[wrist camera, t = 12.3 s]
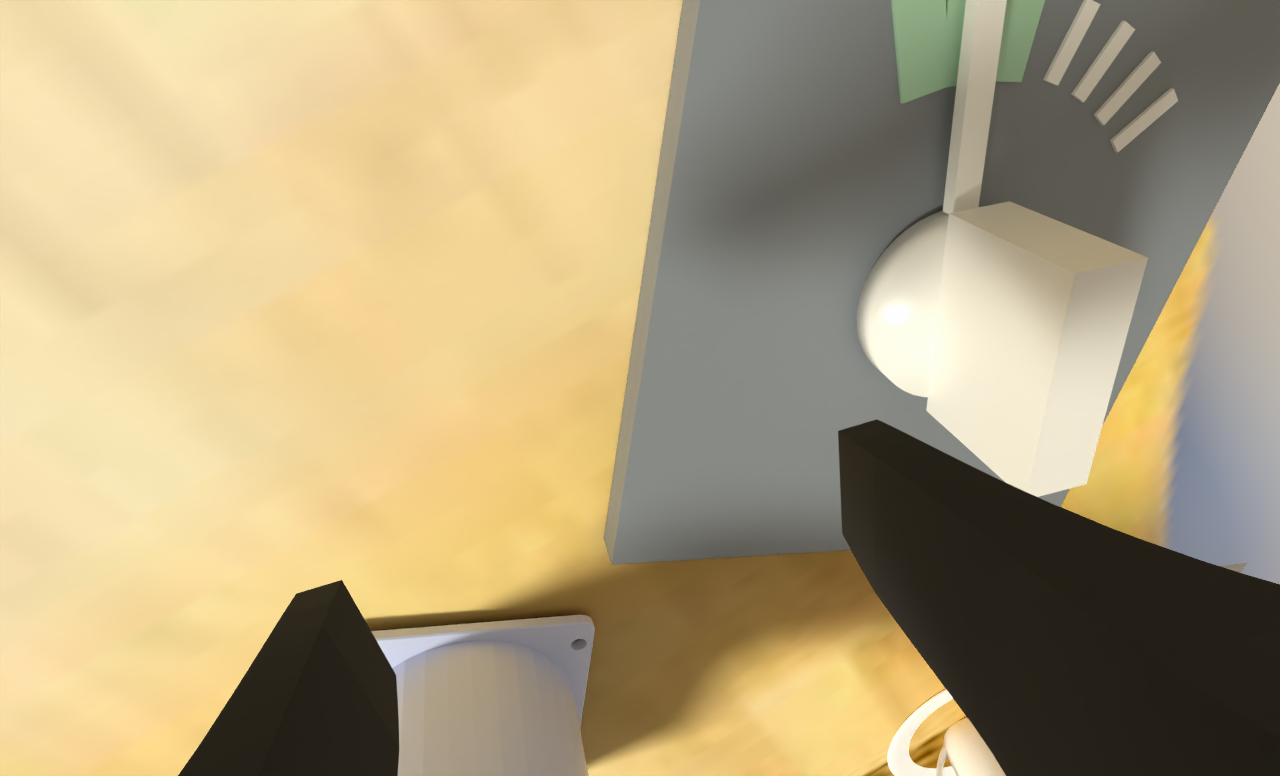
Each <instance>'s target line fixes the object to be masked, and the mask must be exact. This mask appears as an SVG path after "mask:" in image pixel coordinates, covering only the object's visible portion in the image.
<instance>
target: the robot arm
mask: <svg viewBox="0 0 1280 776" xmlns="http://www.w3.org/2000/svg"><path fill="white" fill-rule="evenodd" d="M838 442H839V467H840V492H841V518H842V534H843V536H844V538H845V540H846V542H847V543H848V545H849V547H850V549H851V551H852V553H853V554H854V556H855V558H856V560H857V562H858V564H859V565H860V567H861V569H862V571H863V572H864V574H865V576H866V577H867V579H868V581H869V583H870V584H871V586H872V588H873V590H874V591H875V593H876V594H877V596H878V597H879V598H880V600H881V601H882V603H883V604H884V605H885V607H886V608H887V609H888V611H889V612H890V614H891V615H892V616H893V618H894V619H895V620H896V622H897V623H898V624H899V626H900V627H901V629H902V630H903V631H904V633H905V634H906V635H907V637H908V638H909V639H910V641H911V642H912V644H913V645H914V646H915V648H916V649H917V650H918V652H919V653H920V654H921V656H922V657H923V658H924V660H925V661H926V662H927V664H928V665H929V666H930V668H931V669H932V670H933V672H934V673H935V674H936V676H937V677H938V679H939V680H940V681H941V683H942V684H943V685H944V687H945V688H946V689H947V691H948V692H949V693H950V695H951V696H952V697H953V699H954V700H955V701H956V703H957V704H958V705H959V707H960V708H961V709H962V711H963V712H964V714H965V715H966V716H967V718H968V719H969V720H970V722H971V723H972V724H973V726H974V727H975V729H976V730H977V732H978V733H979V735H980V736H981V738H982V739H983V741H984V742H985V743H986V745H987V746H988V748H989V749H990V751H991V752H992V754H993V755H994V757H995V759H996V760H997V762H998V763H999V765H1000V767H1001V768H1002V770H1003V772H1004V773H1005V775H1006V776H1280V585H1279V584H1276V583H1273V582H1269V581H1266V580H1262V579H1259V578H1255V577H1251V576H1248V575H1245V574H1242V573H1238V572H1235V571H1232V570H1229V569H1226V568H1223V567H1219V566H1216V565H1213V564H1210V563H1207V562H1204V561H1201V560H1198V559H1195V558H1192V557H1189V556H1186V555H1184V554H1181V553H1178V552H1175V551H1172V550H1169V549H1167V548H1164V547H1161V546H1158V545H1155V544H1152V543H1149V542H1147V541H1144V540H1141V539H1138V538H1135V537H1133V536H1130V535H1128V534H1125V533H1122V532H1120V531H1117V530H1114V529H1112V528H1109V527H1107V526H1104V525H1102V524H1099V523H1097V522H1095V521H1092V520H1090V519H1087V518H1085V517H1083V516H1080V515H1078V514H1076V513H1073V512H1071V511H1068V510H1066V509H1064V508H1061V507H1059V506H1056V505H1054V504H1052V503H1049V502H1047V501H1045V500H1043V499H1041V498H1038V497H1036V496H1034V495H1032V494H1029V493H1027V492H1025V491H1023V490H1021V489H1018V488H1016V487H1014V486H1012V485H1010V484H1008V483H1006V482H1003V481H1001V480H999V479H997V478H995V477H993V476H991V475H989V474H987V473H985V472H983V471H981V470H978V469H976V468H974V467H972V466H970V465H968V464H966V463H964V462H962V461H960V460H958V459H956V458H954V457H952V456H950V455H948V454H946V453H944V452H942V451H940V450H938V449H936V448H934V447H932V446H930V445H928V444H926V443H924V442H922V441H920V440H918V439H916V438H914V437H912V436H911V435H909V434H907V433H905V432H902V431H900V430H898V429H896V428H894V427H892V426H890V425H888V424H886V423H884V422H882V421H880V420H877V419H876V420H873V421H869V422H866V423H863V424H859V425H856V426H853V427H849V428H846V429H843V430H839V431H838ZM594 634H595V628H594V623H593V620H592V619H591V618H590V617H589V616H587V615H569V616H557V617H544V618H532V619H519V620H506V621H494V622H481V623H469V624H456V625H443V626H431V627H418V628H406V629H393V630H380V631H371V630H370V628H369V627H368V625H367V623H366V621H365V620H364V618H363V616H362V614H361V613H360V611H359V609H358V608H357V606H356V604H355V602H354V601H353V599H352V597H351V595H350V594H349V592H348V590H347V588H346V587H345V585H344V583H343V581H342V580H341V581H337V582H334V583H331V584H327V585H324V586H321V587H317V588H314V589H311V590H307V591H304V592H301V593H297V594H296V595H295V597H294V598H293V600H292V601H291V603H290V604H289V606H288V607H287V609H286V610H285V612H284V613H283V615H282V617H281V618H280V620H279V621H278V623H277V625H276V626H275V628H274V629H273V631H272V633H271V634H270V636H269V637H268V639H267V641H266V642H265V644H264V645H263V647H262V649H261V650H260V652H259V653H258V655H257V657H256V658H255V660H254V661H253V663H252V665H251V666H250V668H249V669H248V671H247V672H246V674H245V676H244V677H243V679H242V680H241V682H240V684H239V685H238V687H237V688H236V690H235V691H234V693H233V694H232V696H231V698H230V699H229V701H228V702H227V704H226V705H225V707H224V708H223V710H222V711H221V713H220V715H219V716H218V718H217V719H216V721H215V722H214V724H213V725H212V727H211V728H210V730H209V732H208V733H207V735H206V736H205V738H204V739H203V741H202V742H201V744H200V745H199V747H198V748H197V750H196V751H195V752H194V754H193V755H192V757H191V758H190V760H189V761H188V762H187V764H186V765H185V767H184V768H183V770H182V771H181V772H180V774H179V775H178V776H589V775H588V769H587V764H586V758H585V753H584V747H583V742H582V737H581V731H580V727H581V720H582V714H583V707H584V700H585V694H586V687H587V681H588V674H589V667H590V661H591V654H592V648H593V641H594ZM577 639H581V640H578V641H575V640H577Z"/></svg>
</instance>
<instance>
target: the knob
mask: <svg viewBox="0 0 1280 776" xmlns="http://www.w3.org/2000/svg"><path fill="white" fill-rule="evenodd" d="M1006 2H1007V0H966V4H965V13H964V22H963V31H962V40H961V50H960V59H959V68H958V77H957V86H956V95H955V104H954V113H953V122H952V131H951V140H950V149H949V158H948V167H947V176H946V185H945V194H944V203H943V211H940V212H938V213H935V214H933V215H930V216H928V217H926V218H924V219H923V220H921V221H919V222H917V223H916V224H914V225H913V226H911V227H910V228H908V229H907V230H906V231H904V232H903V233H902V234H901V235H900V236H899V237H897V238H896V239H895V240H894V241H893V242H892V243H891V244H890V245H889V247H888V248H887V249H886V250H885V251H884V252H883V254H882V255H881V256H880V258H879V259H878V260H877V262H876V263H875V265H874V267H873V268H872V270H871V271H870V273H869V275H868V277H867V279H866V281H865V284H864V286H863V289H862V292H861V295H860V299H859V303H858V308H857V317H856V321H857V334H858V339H859V342H860V345H861V348H862V350H863V352H864V354H865V356H866V357H867V358H868V360H869V361H870V362H871V363H872V364H873V365H874V366H875V367H876V368H877V369H878V370H879V371H880V372H882V373H883V374H884V375H885V376H886V377H887V378H888V379H889V380H890V381H891V382H893V383H894V384H895V385H896V386H897V387H899V388H900V389H902V390H903V391H905V392H908V393H910V394H913V395H916V396H921V397H928V400H927V409H926V411H927V412H928V413H929V414H931V415H932V416H933V417H934V418H935V419H936V420H937V421H938V422H939V423H940V424H942V425H943V426H944V427H945V428H946V429H947V430H948V431H949V432H950V433H951V434H953V435H954V436H955V437H956V438H957V439H958V440H959V441H960V442H961V443H963V444H964V445H965V446H966V447H967V448H968V449H969V450H970V451H971V452H972V453H974V454H975V455H976V456H977V457H978V458H979V459H980V460H981V461H982V462H983V463H985V464H986V465H987V466H988V467H989V468H990V469H991V470H992V471H993V472H995V473H996V474H997V475H998V476H999V477H1000V478H1001V479H1002V480H1003V481H1004V482H1006V483H1008V484H1010V485H1012V486H1014V487H1016V488H1018V489H1021V490H1023V491H1025V492H1027V493H1029V494H1032V495H1034V496H1036V497H1040V496H1043V495H1047V494H1051V493H1055V492H1058V491H1062V490H1066V489H1070V488H1073V487H1077V486H1081V485H1085V484H1087V480H1088V477H1089V473H1090V469H1091V466H1092V462H1093V458H1094V455H1095V451H1096V447H1097V444H1098V440H1099V436H1100V433H1101V429H1102V425H1103V422H1104V418H1105V414H1106V411H1107V407H1108V403H1109V400H1110V396H1111V392H1112V389H1113V385H1114V381H1115V378H1116V374H1117V370H1118V367H1119V363H1120V359H1121V356H1122V352H1123V348H1124V345H1125V341H1126V337H1127V334H1128V330H1129V326H1130V323H1131V319H1132V315H1133V312H1134V308H1135V304H1136V301H1137V297H1138V293H1139V290H1140V286H1141V282H1142V279H1143V275H1144V271H1145V268H1146V264H1147V260H1148V257H1146V256H1143V255H1141V254H1138V253H1136V252H1133V251H1131V250H1129V249H1126V248H1124V247H1121V246H1119V245H1116V244H1114V243H1111V242H1109V241H1106V240H1104V239H1101V238H1099V237H1097V236H1094V235H1092V234H1089V233H1087V232H1084V231H1082V230H1079V229H1077V228H1074V227H1072V226H1069V225H1067V224H1064V223H1062V222H1060V221H1057V220H1055V219H1052V218H1050V217H1047V216H1045V215H1042V214H1040V213H1037V212H1035V211H1032V210H1030V209H1027V208H1025V207H1023V206H1020V205H1018V204H1015V203H1013V202H1010V201H1009V202H1004V203H999V204H994V205H989V206H984V207H979V200H980V192H981V185H982V178H983V170H984V163H985V156H986V148H987V141H988V134H989V127H990V119H991V112H992V105H993V97H994V90H995V83H996V75H997V68H998V61H999V53H1000V46H1001V39H1002V31H1003V24H1004V17H1005V9H1006Z"/></svg>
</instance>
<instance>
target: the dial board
mask: <svg viewBox="0 0 1280 776" xmlns="http://www.w3.org/2000/svg"><path fill="white" fill-rule="evenodd" d="M965 4H966V0H683V4H682V11H681V17H680V24H679V31H678V38H677V45H676V51H675V58H674V65H673V72H672V79H671V85H670V92H669V99H668V106H667V113H666V119H665V126H664V133H663V140H662V147H661V153H660V160H659V167H658V174H657V181H656V187H655V194H654V201H653V208H652V215H651V221H650V228H649V235H648V242H647V249H646V255H645V262H644V269H643V276H642V283H641V289H640V296H639V303H638V310H637V317H636V323H635V330H634V337H633V344H632V350H631V357H630V364H629V371H628V378H627V384H626V391H625V398H624V405H623V412H622V418H621V425H620V432H619V439H618V446H617V452H616V459H615V466H614V473H613V480H612V486H611V493H610V500H609V507H608V514H607V520H606V527H605V534H604V540H605V544H606V547H607V551H608V554H609V558H610V561H611V565H615V564H631V563H648V562H664V561H680V560H697V559H713V558H729V557H746V556H762V555H779V554H795V553H811V552H828V551H844V550H851V549H850V547H849V545H848V543H847V542H846V540H845V538H844V536H843V534H842V518H841V492H840V467H839V442H838V431H839V430H843V429H846V428H849V427H853V426H856V425H859V424H863V423H866V422H869V421H873V420H876V419H877V420H880V421H882V422H884V423H886V424H888V425H890V426H892V427H894V428H896V429H898V430H900V431H902V432H905V433H907V434H909V435H911V436H912V437H914V438H916V439H918V440H920V441H922V442H924V443H926V444H928V445H930V446H932V447H934V448H936V449H938V450H940V451H942V452H944V453H946V454H948V455H950V456H952V457H954V458H956V459H958V460H960V461H962V462H964V463H966V464H968V465H970V466H972V467H974V468H976V469H978V470H981V471H983V472H985V473H987V474H989V475H991V476H993V477H995V478H997V479H999V480H1001V481H1003V480H1002V479H1001V478H1000V477H999V476H998V475H997V474H996V473H995V472H993V471H992V470H991V469H990V468H989V467H988V466H987V465H986V464H985V463H983V462H982V461H981V460H980V459H979V458H978V457H977V456H976V455H975V454H974V453H972V452H971V451H970V450H969V449H968V448H967V447H966V446H965V445H964V444H963V443H961V442H960V441H959V440H958V439H957V438H956V437H955V436H954V435H953V434H951V433H950V432H949V431H948V430H947V429H946V428H945V427H944V426H943V425H942V424H940V423H939V422H938V421H937V420H936V419H935V418H934V417H933V416H932V415H931V414H929V413H928V412H927V411H926V409H927V400H928V397H921V396H916V395H913V394H910V393H908V392H905V391H903V390H902V389H900V388H899V387H897V386H896V385H895V384H894V383H893V382H891V381H890V380H889V379H888V378H887V377H886V376H885V375H884V374H883V373H882V372H880V371H879V370H878V369H877V368H876V367H875V366H874V365H873V364H872V363H871V362H870V361H869V360H868V358H867V357H866V356H865V354H864V352H863V350H862V348H861V345H860V342H859V339H858V334H857V321H856V317H857V308H858V303H859V299H860V295H861V292H862V289H863V286H864V284H865V281H866V279H867V277H868V275H869V273H870V271H871V270H872V268H873V267H874V265H875V263H876V262H877V260H878V259H879V258H880V256H881V255H882V254H883V252H884V251H885V250H886V249H887V248H888V247H889V245H890V244H891V243H892V242H893V241H894V240H895V239H896V238H897V237H899V236H900V235H901V234H902V233H903V232H904V231H906V230H907V229H908V228H910V227H911V226H913V225H914V224H916V223H917V222H919V221H921V220H923V219H924V218H926V217H928V216H930V215H933V214H935V213H938V212H940V211H943V203H944V194H945V185H946V176H947V167H948V158H949V149H950V140H951V131H952V122H953V113H954V104H955V95H956V86H957V77H958V68H959V59H960V50H961V40H962V31H963V22H964V13H965ZM1279 83H1280V0H1007V2H1006V9H1005V17H1004V24H1003V31H1002V39H1001V46H1000V53H999V61H998V68H997V75H996V83H995V90H994V97H993V105H992V112H991V119H990V127H989V134H988V141H987V148H986V156H985V163H984V170H983V178H982V185H981V192H980V200H979V207H984V206H989V205H994V204H999V203H1004V202H1009V201H1010V202H1013V203H1015V204H1018V205H1020V206H1023V207H1025V208H1027V209H1030V210H1032V211H1035V212H1037V213H1040V214H1042V215H1045V216H1047V217H1050V218H1052V219H1055V220H1057V221H1060V222H1062V223H1064V224H1067V225H1069V226H1072V227H1074V228H1077V229H1079V230H1082V231H1084V232H1087V233H1089V234H1092V235H1094V236H1097V237H1099V238H1101V239H1104V240H1106V241H1109V242H1111V243H1114V244H1116V245H1119V246H1121V247H1124V248H1126V249H1129V250H1131V251H1133V252H1136V253H1138V254H1141V255H1143V256H1146V257H1148V260H1147V264H1146V268H1145V271H1144V275H1143V279H1142V282H1141V286H1140V290H1139V293H1138V297H1137V301H1136V304H1135V308H1134V312H1133V315H1132V319H1131V323H1130V326H1129V330H1128V334H1127V337H1126V341H1125V345H1124V348H1123V352H1122V356H1121V359H1120V363H1119V367H1118V370H1117V374H1116V378H1115V381H1114V385H1113V389H1112V392H1111V396H1110V400H1109V403H1108V407H1107V411H1106V414H1105V418H1104V422H1105V420H1106V418H1107V416H1108V414H1109V412H1110V410H1111V408H1112V406H1113V404H1114V402H1115V400H1116V398H1117V396H1118V394H1119V393H1120V391H1121V389H1122V387H1123V385H1124V383H1125V381H1126V379H1127V377H1128V375H1129V373H1130V371H1131V369H1132V367H1133V365H1134V363H1135V362H1136V360H1137V358H1138V356H1139V354H1140V352H1141V350H1142V348H1143V346H1144V344H1145V342H1146V340H1147V338H1148V336H1149V334H1150V332H1151V331H1152V329H1153V327H1154V325H1155V323H1156V321H1157V319H1158V317H1159V315H1160V313H1161V311H1162V309H1163V307H1164V305H1165V303H1166V302H1167V300H1168V298H1169V296H1170V294H1171V292H1172V290H1173V288H1174V286H1175V284H1176V282H1177V280H1178V278H1179V276H1180V274H1181V272H1182V271H1183V269H1184V267H1185V265H1186V263H1187V261H1188V259H1189V257H1190V255H1191V253H1192V251H1193V249H1194V247H1195V245H1196V243H1197V242H1198V240H1199V238H1200V236H1201V234H1202V232H1203V230H1204V228H1205V226H1206V224H1207V222H1208V220H1209V218H1210V216H1211V214H1212V212H1213V211H1214V209H1215V207H1216V205H1217V203H1218V201H1219V199H1220V197H1221V195H1222V193H1223V191H1224V189H1225V187H1226V185H1227V183H1228V181H1229V179H1230V178H1231V175H1232V174H1233V172H1234V170H1235V168H1236V166H1237V164H1238V162H1239V160H1240V158H1241V156H1242V154H1243V152H1244V151H1245V149H1246V147H1247V145H1248V143H1249V141H1250V139H1251V137H1252V135H1253V133H1254V131H1255V129H1256V127H1257V125H1258V123H1259V121H1260V119H1261V118H1262V116H1263V114H1264V112H1265V110H1266V108H1267V106H1268V104H1269V102H1270V100H1271V98H1272V96H1273V94H1274V92H1275V91H1276V88H1277V87H1278V85H1279ZM1104 422H1103V423H1104ZM1003 482H1004V481H1003ZM1068 491H1069V489H1066V490H1062V491H1058V492H1055V493H1051V494H1047V495H1043V496H1040V497H1038V498H1041V499H1043V500H1045V501H1047V502H1049V503H1052V504H1054V505H1056V506H1059V507H1061V505H1062V503H1063V501H1064V499H1065V497H1066V495H1067V493H1068Z"/></svg>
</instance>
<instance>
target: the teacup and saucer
mask: <svg viewBox="0 0 1280 776" xmlns="http://www.w3.org/2000/svg"><path fill="white" fill-rule="evenodd" d="M1246 564H1247V563H1241V564H1233V565H1227V566H1219V567H1223V568H1226V569H1229V570H1232V571H1235V572H1238V573H1241V572H1242V570H1243V569H1244V567H1245V566H1246ZM952 699H953V697H952V696H951V695H950V693H949V692H948V691H947V689H945V690H943V691H941V692H940V693H938V694H936V695H935V696H933V697H932V698H930V699H929V700H928V701H926V702H925V703H924V704H922V705H921V706H920V707H919V708H918V709H916V710H915V711H914V712H913V713H912V714H911V715H910V716H909V717H908V718H907V719H906V720H905V722H904V723H903V724H902V725H901V726H900V728H899V729H898V731H897V732H896V734H895V735H894V737H893V739H892V741H891V744H890V746H889V750H888V756H887V760H888V766H889V768H890V770H891V772H892V773H893V774H894V775H895V776H1006V775H1005V773H1004V772H1003V770H1002V768H1001V767H1000V765H999V763H998V762H997V760H996V759H995V757H994V755H993V754H992V752H991V751H990V749H989V748H988V746H987V745H986V743H985V742H984V741H983V739H982V738H981V736H980V735H979V733H978V732H977V730H976V729H975V727H974V726H973V724H972V723H971V722H970V720H969V719H968V718H967V717H966V718H963V719H961V720H959V721H958V722H956V723H955V724H953V725H952V726H951V727H950V728H949V729H948V730H947V732H946V733H945V735H944V745H943V747H942V749H941V751H940V754H939V758H938V762H937V768H936V769H932V768H924V767H921V766H919V765H917V764H915V763H914V762H913V761H912V760H911V758H910V756H909V743H910V740H911V738H912V736H913V734H914V732H915V731H916V729H917V728H918V727H919V725H920V724H921V723H922V722H923V721H924V720H925V719H926V718H927V717H928V716H929V715H930V714H931V713H933V712H934V711H935V710H936V709H938V708H939V707H941V706H942V705H944V704H945V703H947V702H949V701H950V700H952ZM946 757H948V758H949V761H950V763H951V765H952V766H950V767H945V768H943V766H944V762H945V759H946Z"/></svg>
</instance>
